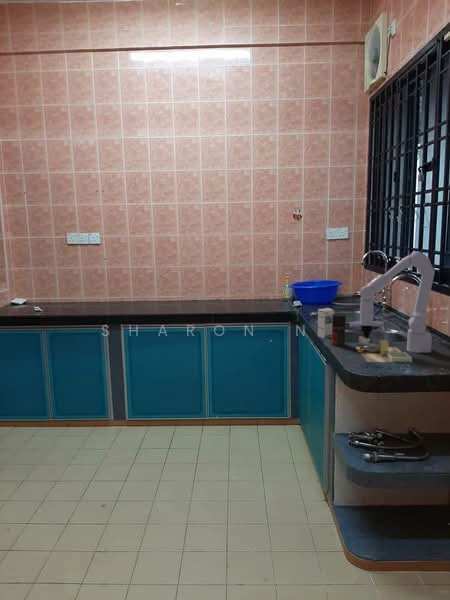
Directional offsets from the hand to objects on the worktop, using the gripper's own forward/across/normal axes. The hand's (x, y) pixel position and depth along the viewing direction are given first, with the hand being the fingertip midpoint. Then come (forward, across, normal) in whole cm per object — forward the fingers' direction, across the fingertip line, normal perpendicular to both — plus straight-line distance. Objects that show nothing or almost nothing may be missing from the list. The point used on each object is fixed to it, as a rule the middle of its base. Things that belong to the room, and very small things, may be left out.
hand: (365, 342), depth 199 cm
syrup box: (+3, +15, -20) cm, 26 cm away
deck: (+3, -5, +11) cm, 12 cm away
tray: (+2, -9, +18) cm, 20 cm away
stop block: (+2, -5, +12) cm, 13 cm away
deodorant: (+3, +12, -4) cm, 13 cm away
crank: (+2, 0, +5) cm, 6 cm away
